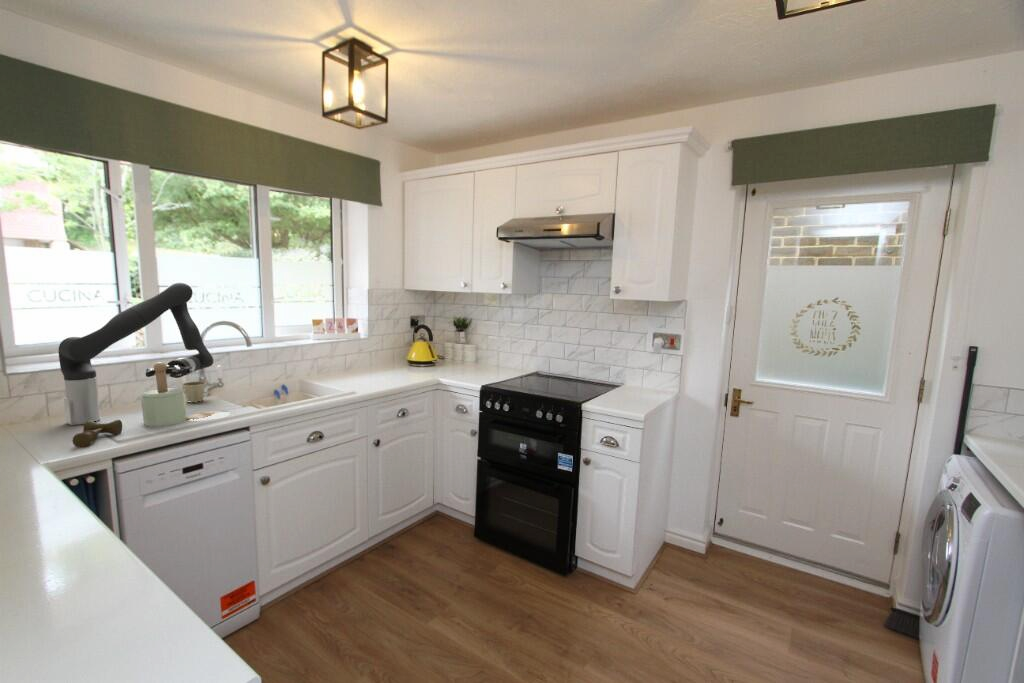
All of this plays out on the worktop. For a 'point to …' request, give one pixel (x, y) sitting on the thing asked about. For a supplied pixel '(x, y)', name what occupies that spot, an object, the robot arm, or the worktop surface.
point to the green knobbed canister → (163, 401)
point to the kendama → (96, 432)
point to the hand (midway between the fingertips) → (159, 374)
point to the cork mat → (202, 415)
